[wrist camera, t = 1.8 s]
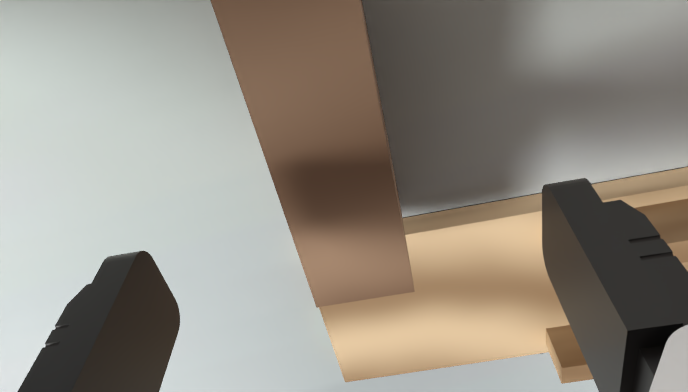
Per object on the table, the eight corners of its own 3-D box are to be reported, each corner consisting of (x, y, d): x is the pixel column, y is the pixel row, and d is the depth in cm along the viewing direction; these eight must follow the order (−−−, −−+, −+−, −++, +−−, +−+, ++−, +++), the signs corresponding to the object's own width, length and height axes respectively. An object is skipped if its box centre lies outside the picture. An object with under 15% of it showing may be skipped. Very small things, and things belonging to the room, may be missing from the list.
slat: (235, -77, 15) (198, -35, 11) (342, -103, 15) (346, -69, 11) (319, 208, 21) (316, 307, 17) (398, 194, 20) (414, 291, 16)
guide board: (301, 236, 21) (295, 326, 17) (921, 125, 19) (1064, 202, 15) (345, 364, 26) (346, 456, 22) (847, 287, 23) (943, 377, 20)
